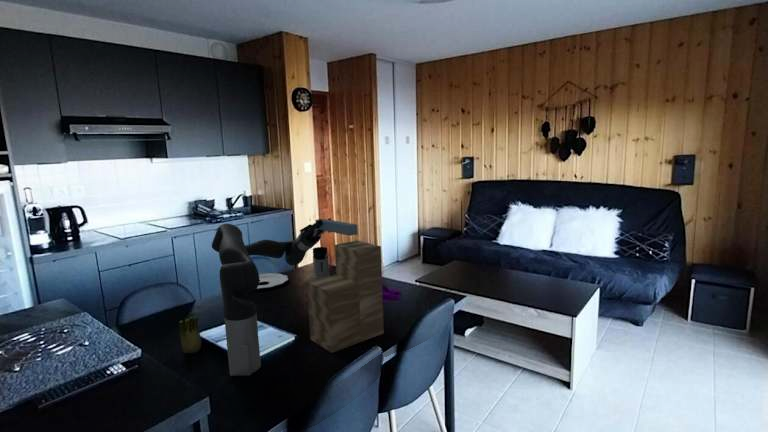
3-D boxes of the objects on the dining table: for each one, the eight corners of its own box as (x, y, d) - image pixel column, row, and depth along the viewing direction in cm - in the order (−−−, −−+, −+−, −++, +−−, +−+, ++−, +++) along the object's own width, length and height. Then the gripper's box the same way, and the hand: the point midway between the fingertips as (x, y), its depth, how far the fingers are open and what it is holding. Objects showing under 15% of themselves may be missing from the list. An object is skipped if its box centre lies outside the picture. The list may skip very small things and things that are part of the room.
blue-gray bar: (357, 234, 149) (357, 224, 149) (349, 235, 147) (348, 225, 147) (323, 227, 167) (323, 218, 166) (315, 228, 165) (315, 219, 164)
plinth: (383, 333, 153) (380, 246, 148) (331, 352, 139) (326, 257, 134) (360, 321, 163) (357, 240, 158) (310, 339, 150) (304, 250, 145)
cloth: (356, 304, 184) (355, 291, 183) (363, 290, 202) (363, 278, 201) (407, 305, 181) (407, 291, 180) (410, 291, 199) (410, 278, 198)
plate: (237, 280, 224) (237, 276, 224) (286, 274, 232) (286, 271, 231) (236, 294, 201) (236, 290, 200) (290, 288, 208) (290, 284, 208)
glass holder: (324, 272, 232) (322, 245, 229) (338, 278, 221) (337, 250, 219) (310, 276, 226) (308, 248, 224) (324, 281, 215) (322, 253, 213)
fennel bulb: (181, 356, 140) (177, 321, 138) (184, 349, 145) (180, 316, 143) (200, 353, 141) (197, 319, 140) (202, 347, 146) (199, 314, 144)
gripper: (325, 244, 178) (344, 227, 165) (295, 249, 169) (312, 232, 156) (320, 228, 180) (338, 210, 167) (289, 232, 171) (306, 214, 158)
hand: (325, 221), depth 162 cm, fingers closed on blue-gray bar, 3 cm apart
